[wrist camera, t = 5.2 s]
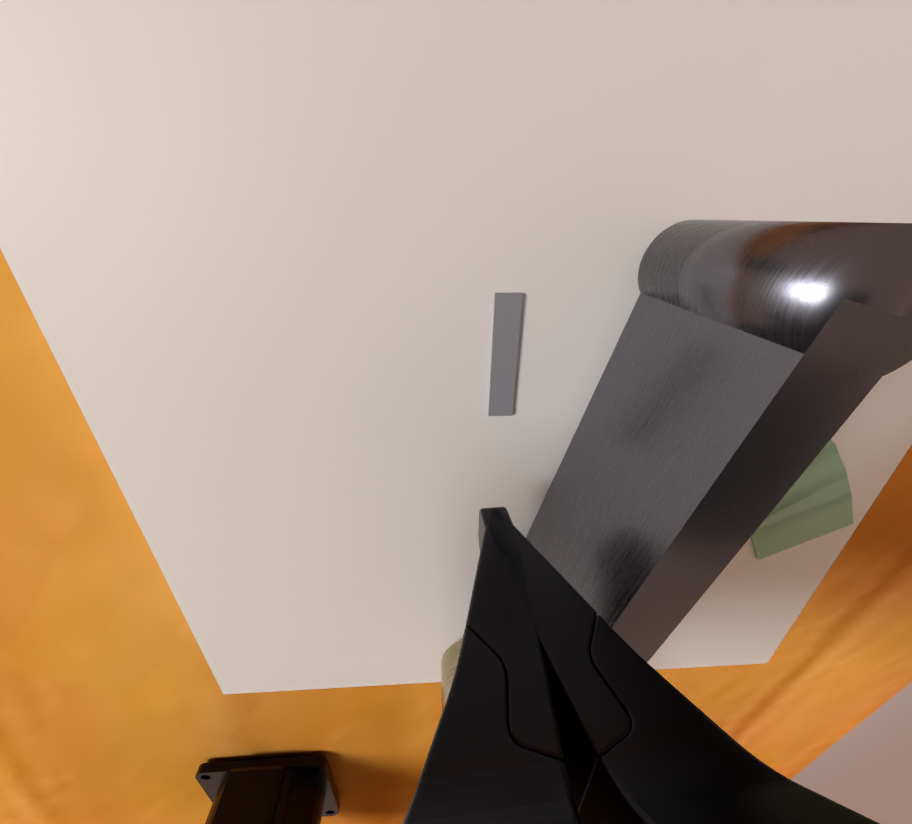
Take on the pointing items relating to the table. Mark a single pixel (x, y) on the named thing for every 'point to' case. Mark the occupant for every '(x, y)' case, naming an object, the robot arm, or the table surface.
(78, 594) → the table surface
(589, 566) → the pointer
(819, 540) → the dial board
